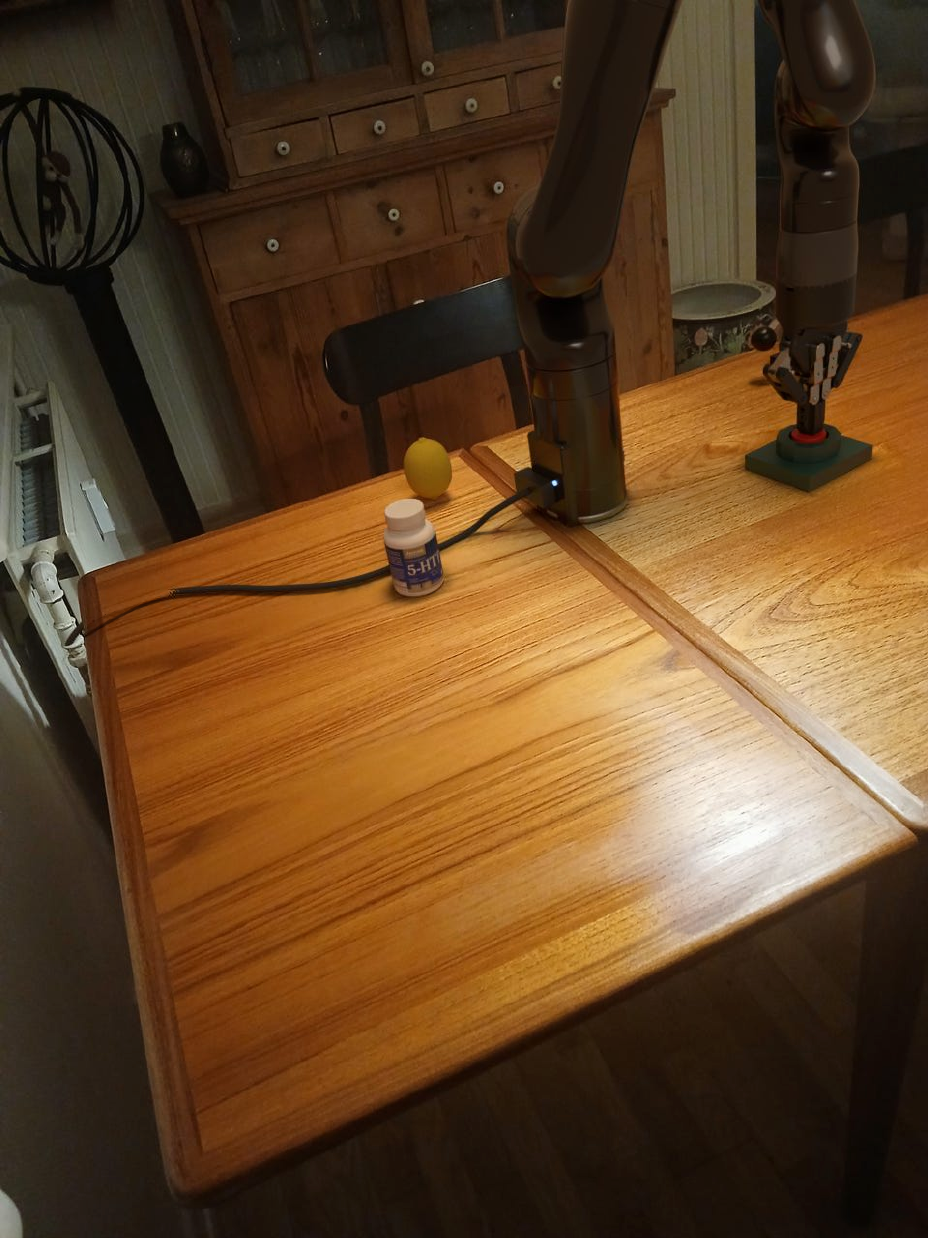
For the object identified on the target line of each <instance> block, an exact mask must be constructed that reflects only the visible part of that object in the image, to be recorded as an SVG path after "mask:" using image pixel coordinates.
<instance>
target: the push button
mask: <svg viewBox="0 0 928 1238" xmlns="http://www.w3.org/2000/svg"><path fill="white" fill-rule="evenodd" d="M825 439H826V431H825V429H823V430H822V431H821V432H819V433H817V434H815V435H813V436H810V435H807V434H804V433H800V432H799V431H798V429H797V428H796V429H794V430H793V431H792V433H791V440H793V441H796V442H799V443H815V442H821V441H823V440H825Z"/></svg>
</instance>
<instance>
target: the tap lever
mask: <svg viewBox="0 0 928 1238" xmlns="http://www.w3.org/2000/svg"><path fill="white" fill-rule="evenodd" d="M781 330H782V326H781V325H780V323H779V322H778V320H777V319H776V318H775V319H773V321H772V322H770V324H769V325H761V326H759V327H757V328H756V329H754V331H753V332H752V334H751V336H750V343H751V346H752V348H753V349H754V350H755V351H758V352H762V353H764V352H765V353H766V352H768V351H771V350H772V349H773V348H774V347H775V345H776V343H777V340H778V335H777V334H778V333H779V332H780V331H781Z"/></svg>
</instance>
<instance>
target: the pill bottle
mask: <svg viewBox="0 0 928 1238" xmlns="http://www.w3.org/2000/svg"><path fill="white" fill-rule="evenodd" d="M383 515H384V519H385V524H386V526H387V527H386V528H385V529H384V531H383V535H382V539H383V545H384V550H385V553H386V558H387V563H388V565H389V567H390V571H391V572H390V576H391V579H392V584H393V588H394V589H395V591H396V592H397V593H398V594H400V595H402V596H405V597H421V596H425V595H428V594H431V593H433V592H434V591H436V590H438V589H439V588H440V587H441V586H442V584H443V583H444V581H445V575H444V569H443V565H442V559H441V553H440V551H439V548H438V544H439V542H438V538H437V533H436V528H435V526H434V524H433V523H432V522H431V521H430V520H429V519H427V515H426V510H425V506H424V502H423V501H422V500H419V499H417V498H416V499H415V498H403V499H399V500H396V501H394V502H391V503H389V504H388V505H387V506H386V507H385V508H384V510H383Z"/></svg>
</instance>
